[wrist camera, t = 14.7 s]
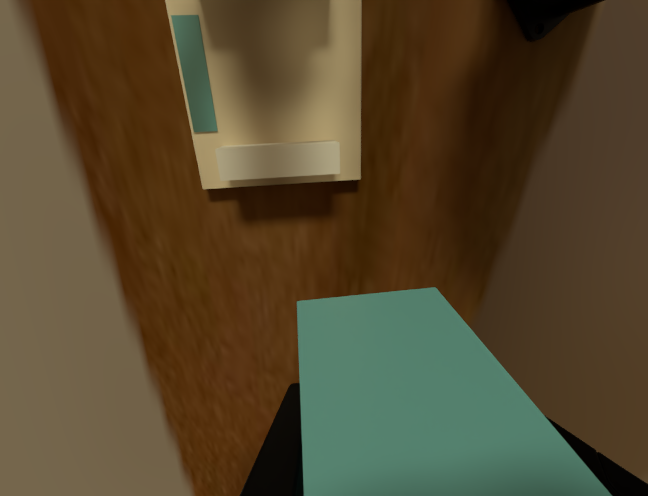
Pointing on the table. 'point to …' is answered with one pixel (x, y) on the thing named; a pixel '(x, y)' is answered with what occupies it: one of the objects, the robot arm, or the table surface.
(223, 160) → the backplate with mounted blocks
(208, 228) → the table surface
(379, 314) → the teal plug
